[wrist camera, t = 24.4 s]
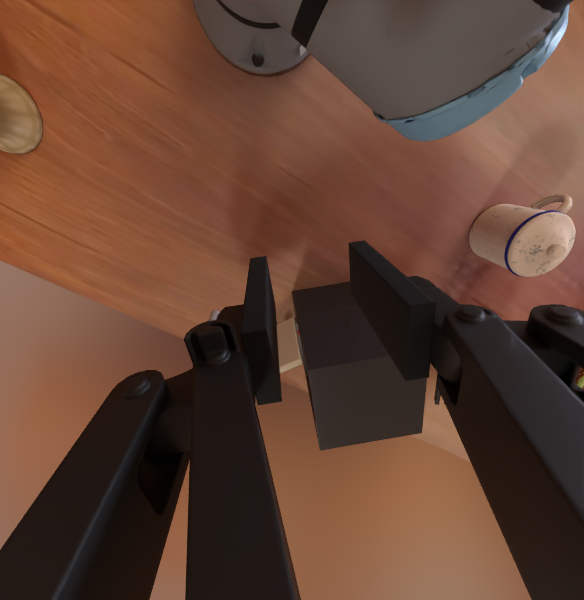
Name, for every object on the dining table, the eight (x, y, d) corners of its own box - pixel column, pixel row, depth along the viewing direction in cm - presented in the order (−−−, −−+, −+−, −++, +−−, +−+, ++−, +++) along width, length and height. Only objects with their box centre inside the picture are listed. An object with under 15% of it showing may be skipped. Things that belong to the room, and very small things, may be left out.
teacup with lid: (487, 268, 49) (547, 297, 39) (454, 238, 47) (509, 261, 36) (548, 209, 46) (632, 224, 35) (516, 172, 43) (598, 176, 32)
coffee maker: (298, 354, 54) (316, 451, 36) (288, 291, 48) (303, 370, 30) (369, 342, 54) (422, 433, 36) (368, 278, 48) (429, 349, 30)
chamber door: (202, 315, 39) (185, 358, 31) (274, 282, 38) (277, 317, 30) (227, 351, 42) (218, 399, 34) (295, 321, 41) (303, 363, 33)
